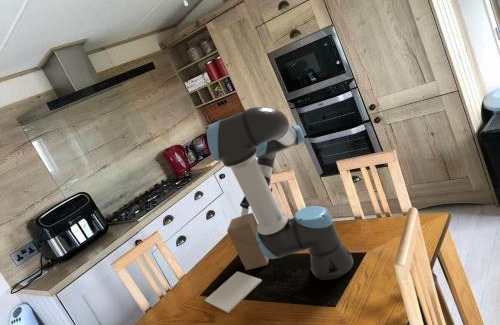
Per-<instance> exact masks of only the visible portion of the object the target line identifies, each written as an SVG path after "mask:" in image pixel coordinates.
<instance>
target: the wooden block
mask: <svg viewBox="0 0 500 325" xmlns="http://www.w3.org/2000/svg"><path fill="white" fill-rule="evenodd" d="M258 224H259V223H258V221H257V219H256V217H255V215H254V213H253V212H251V213H248V214H247V215H244V216H241V215H240V216H238V217H235V218H232V219H231V220H230V223H229V225H228V227H227V230H226V232H227V235H228V236H229V238H230V240H231V242H232V244H233V246H234V248H235V250H236V252H237V255H238V257H239V259H240V261H241V262H242V265H243V267H244V269H245V271H250V270H253V269H257V268H261V267H265V266H267V265H269V260H270V259H269V258H267V257H266V256H265V255H264V254H263V253H262V251H261V249H260V248H259V244H258V242H257V239H256V231H257V226H258Z"/></svg>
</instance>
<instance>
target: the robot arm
mask: <svg viewBox="0 0 500 325" xmlns="http://www.w3.org/2000/svg"><path fill="white" fill-rule="evenodd" d="M206 141H207V145H208V150H209V152H210V154H211V157H212V158H213V159H214V160H215V161H216V162H220V161H221V162H222V164H223V165H224V167H226V168H230V169H231V171H232V174H233V175H234V177H235V179H236V181H237V183H238V185H239V187H240V189H241V190H242V193H243V194H244V196H243V198H242V200H241V202H240V204H239V207H241V208H242V209H241V213H240V216H244V215H247V214H249V208H250V209H251V211H252V213H253V214H254V217H255V219H256V221H257V223H258V226H257V231H256V239H257V242H258V244H259V248H260V249H261V251H262V253H263V254H264V255H265V256H266V257H267V258H269V260H273V259H274V260H275V259H280V258H283V257H286V256H288V255H293V254H296V253H299V252H302V251H306V250H308V252H309V257H310V269H311V272H312V274H313V275H314V278H317V279H319V280H321V281H330V280H335V279H336V280H337V279H339V278H340V277H342V276H345V275H346V274H348V272H350V270H351V269H352V268H353V266H354V259H353V256H352V254H351V252H350V250H348V249H347V247H345V245H344V243H342V242H341V239H340V236H339V233H338V231H337V229H336V227H335V224H334V219H333V218H332V216H331V213H330V211H329V210H328V209H327V208H326V207H324V206H320V205H310V206H305V207H302V208H300V210H297V211H296V212H295V215H294V217H292V218H289V216H288V215H287V214H286V213H285V212H282V211H281V210H280V208H279V205H278V203H277V201H276V199H275V197H274V195H273V188H272V187H270V185H271V181H272V179H271V178H272V175H273V169H274V164H275V162H276V161H275V160H276V157H277V153H279V152H282V151H284V150H286V149H289V148H292V147H295V146H299V145H300V144H302V143H304V142H305V136H304V133H303V131H302V128H301V127H300V125H298V124H296V125H293V126H291V125H290V123H289V119H288V117H287V116H286V114H285V113H284V112H282V111H281V110H279V109H277V108H274V107H268V106H255V107H250V108H248V109H245V110H243V111H241V112H237V113H235V114H233V115H230V116H227V117H225V118H222V119H219V120H218V121H216V122H213V123H212V124H210V125H209V126H208V127H207V130H206Z"/></svg>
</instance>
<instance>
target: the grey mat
mask: <svg viewBox="0 0 500 325" xmlns="http://www.w3.org/2000/svg"><path fill="white" fill-rule="evenodd" d="M262 281H263V280H262V279H261V278H258V277H255V276H253V275H249V274H248V273H247V274H246V273H244V272H241V271H236V272H235V273H233V275H231V276H230V277H229V278H228V279H227V280H225V281H224V282H223V283H222V284H220V286H219V287H218V288H217V289H215V290H214V291H213V292H212V293H211V294H210V295H209V296H208V297H206V299H204V302H206V303H207V304H209V305H211V306H213V307H216V308H217V309H220V310H221V311H223V312H225V313H227V314H229V313H230V312H231V311H232V310H234V309H235V307H236V306H238V305H239V304H240V302H242V301H243V300H244V299H245V298H246V297H247V296H248V295H249V294H251V292H252V291H253V290H255V289H256V288H257V286H259V284H261V283H262Z"/></svg>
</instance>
